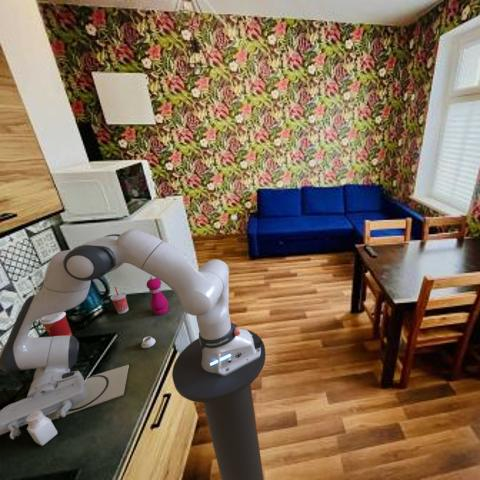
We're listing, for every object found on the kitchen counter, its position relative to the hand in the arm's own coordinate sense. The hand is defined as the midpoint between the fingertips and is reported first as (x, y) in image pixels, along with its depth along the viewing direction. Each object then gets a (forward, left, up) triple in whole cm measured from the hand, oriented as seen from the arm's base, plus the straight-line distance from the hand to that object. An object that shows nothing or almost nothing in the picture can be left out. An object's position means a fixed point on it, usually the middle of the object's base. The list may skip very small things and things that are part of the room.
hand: (38, 426), depth 75 cm
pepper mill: (-28, -53, -6) cm, 60 cm away
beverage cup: (-11, -62, -6) cm, 63 cm away
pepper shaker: (0, -1, -6) cm, 6 cm away
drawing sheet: (-8, -14, -6) cm, 17 cm away
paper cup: (+8, -48, -6) cm, 49 cm away
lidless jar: (-24, -30, -6) cm, 39 cm away
